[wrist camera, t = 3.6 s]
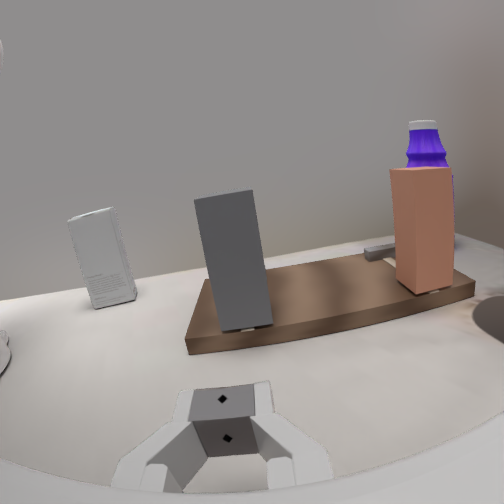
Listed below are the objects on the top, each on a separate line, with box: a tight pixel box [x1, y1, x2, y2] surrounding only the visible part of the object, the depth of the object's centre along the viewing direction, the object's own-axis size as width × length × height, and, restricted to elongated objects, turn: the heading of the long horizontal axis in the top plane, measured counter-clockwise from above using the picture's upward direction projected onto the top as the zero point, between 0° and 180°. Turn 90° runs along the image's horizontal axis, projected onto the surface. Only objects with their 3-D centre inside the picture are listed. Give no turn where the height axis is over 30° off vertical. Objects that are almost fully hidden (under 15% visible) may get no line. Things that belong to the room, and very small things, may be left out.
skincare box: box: [67, 207, 137, 309], centre depth 37 cm, size 6×4×12 cm
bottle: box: [406, 120, 455, 237], centre depth 36 cm, size 7×6×17 cm
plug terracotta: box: [390, 167, 454, 294], centre depth 24 cm, size 4×4×10 cm
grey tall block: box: [194, 187, 273, 331], centre depth 24 cm, size 4×4×10 cm
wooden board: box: [185, 243, 476, 355], centre depth 30 cm, size 26×14×3 cm, turn 91°
